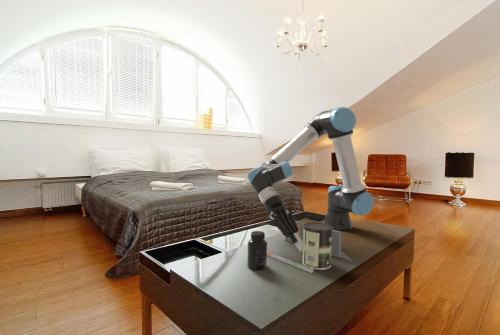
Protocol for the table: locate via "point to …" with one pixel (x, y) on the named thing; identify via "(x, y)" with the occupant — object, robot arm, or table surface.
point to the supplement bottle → (257, 251)
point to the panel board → (335, 239)
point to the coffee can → (317, 245)
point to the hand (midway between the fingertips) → (302, 249)
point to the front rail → (290, 262)
